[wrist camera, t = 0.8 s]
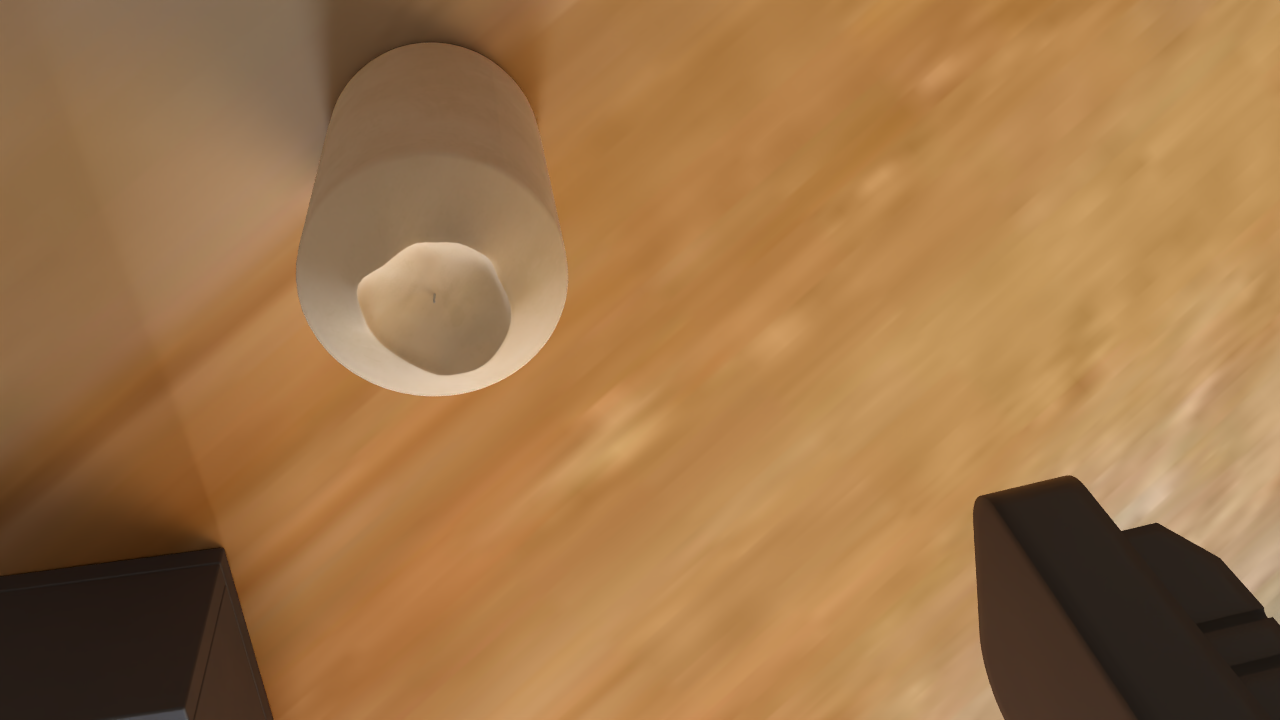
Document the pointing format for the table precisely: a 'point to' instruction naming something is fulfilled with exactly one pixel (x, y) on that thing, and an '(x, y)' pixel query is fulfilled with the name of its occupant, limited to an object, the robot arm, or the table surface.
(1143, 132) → the table surface
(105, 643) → the bin
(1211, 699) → the robot arm
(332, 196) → the candle
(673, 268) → the table surface
